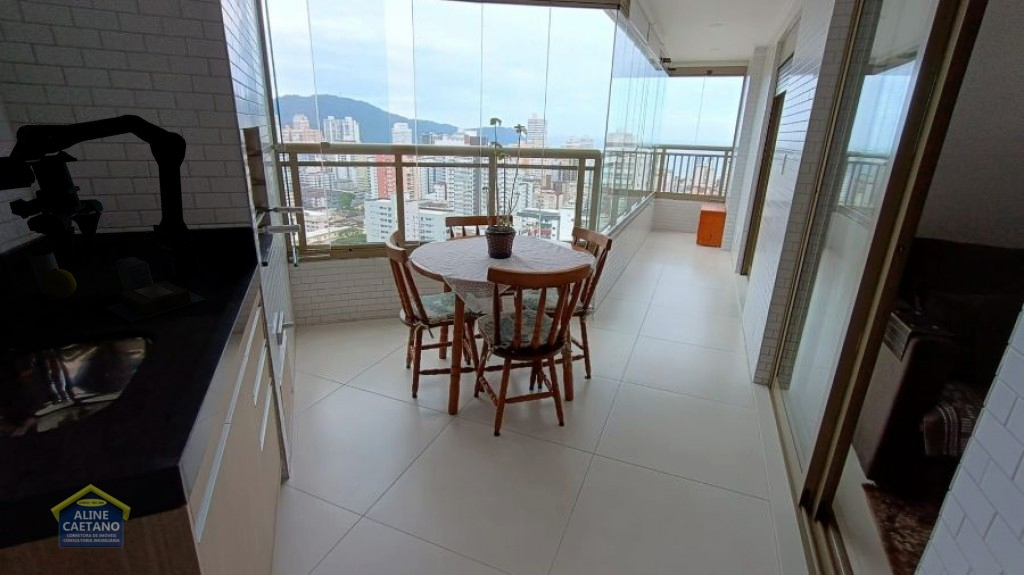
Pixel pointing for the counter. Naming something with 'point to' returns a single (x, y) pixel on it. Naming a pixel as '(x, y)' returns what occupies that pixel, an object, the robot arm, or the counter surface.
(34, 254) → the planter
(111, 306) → the blueprint mat
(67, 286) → the lemon
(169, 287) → the plinth
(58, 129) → the robot arm
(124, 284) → the medicine box
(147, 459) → the counter surface
